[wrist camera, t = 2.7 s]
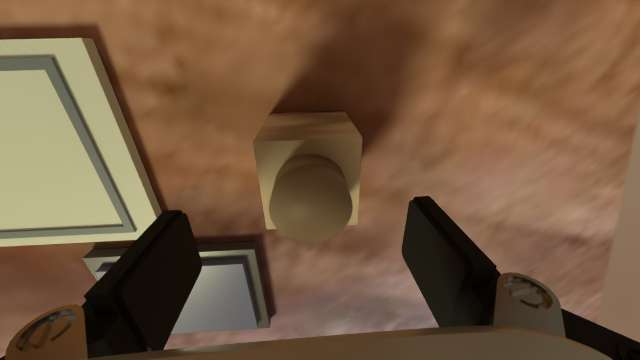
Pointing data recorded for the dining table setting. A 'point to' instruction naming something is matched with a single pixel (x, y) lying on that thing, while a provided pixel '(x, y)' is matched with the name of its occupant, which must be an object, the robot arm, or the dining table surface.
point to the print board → (66, 149)
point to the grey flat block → (213, 288)
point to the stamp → (309, 173)
